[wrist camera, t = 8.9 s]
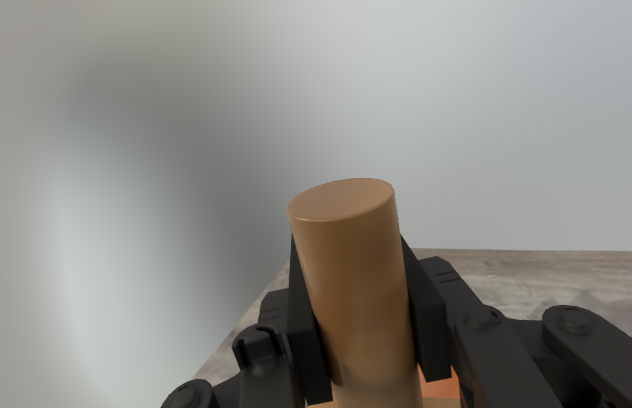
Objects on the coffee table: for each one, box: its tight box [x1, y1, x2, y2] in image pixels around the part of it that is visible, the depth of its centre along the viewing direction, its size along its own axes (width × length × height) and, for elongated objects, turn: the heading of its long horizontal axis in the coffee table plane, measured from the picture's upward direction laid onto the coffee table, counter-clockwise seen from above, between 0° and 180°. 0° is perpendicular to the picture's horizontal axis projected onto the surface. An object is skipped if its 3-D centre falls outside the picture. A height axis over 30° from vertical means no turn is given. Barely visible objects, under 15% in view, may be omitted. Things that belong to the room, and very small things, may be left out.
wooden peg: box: [287, 178, 461, 408], centre depth 11 cm, size 7×4×14 cm, turn 78°
